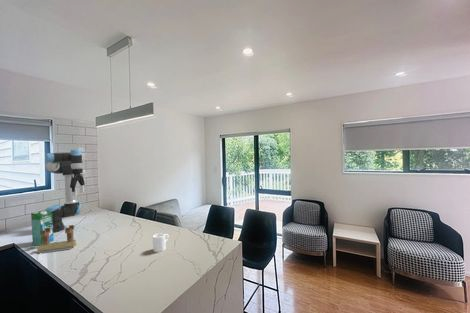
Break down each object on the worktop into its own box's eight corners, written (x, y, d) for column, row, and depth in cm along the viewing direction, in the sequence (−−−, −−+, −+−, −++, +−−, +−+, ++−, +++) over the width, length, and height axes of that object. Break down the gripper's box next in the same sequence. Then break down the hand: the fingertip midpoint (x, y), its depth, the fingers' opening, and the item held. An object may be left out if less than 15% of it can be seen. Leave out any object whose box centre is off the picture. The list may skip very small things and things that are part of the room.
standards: (45, 244, 165) (45, 228, 165) (75, 241, 170) (74, 224, 170) (40, 248, 158) (39, 231, 158) (71, 244, 163) (70, 227, 163)
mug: (172, 246, 151) (172, 232, 151) (158, 253, 141) (157, 238, 141) (165, 244, 155) (164, 230, 155) (150, 250, 146) (150, 236, 145)
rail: (37, 251, 151) (37, 246, 151) (41, 249, 155) (40, 244, 155) (73, 247, 156) (73, 241, 156) (76, 245, 160) (75, 239, 160)
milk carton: (41, 245, 165) (40, 213, 165) (32, 244, 167) (30, 213, 166) (53, 240, 174) (52, 210, 173) (45, 240, 175) (43, 210, 175)
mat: (44, 248, 157) (44, 248, 157) (76, 244, 162) (76, 243, 162) (37, 254, 149) (36, 253, 149) (70, 249, 154) (70, 248, 154)
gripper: (78, 168, 185) (79, 192, 185) (63, 169, 161) (64, 197, 161) (88, 167, 187) (89, 191, 187) (74, 169, 163) (76, 196, 163)
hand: (78, 194), depth 174 cm, fingers open, 13 cm apart
